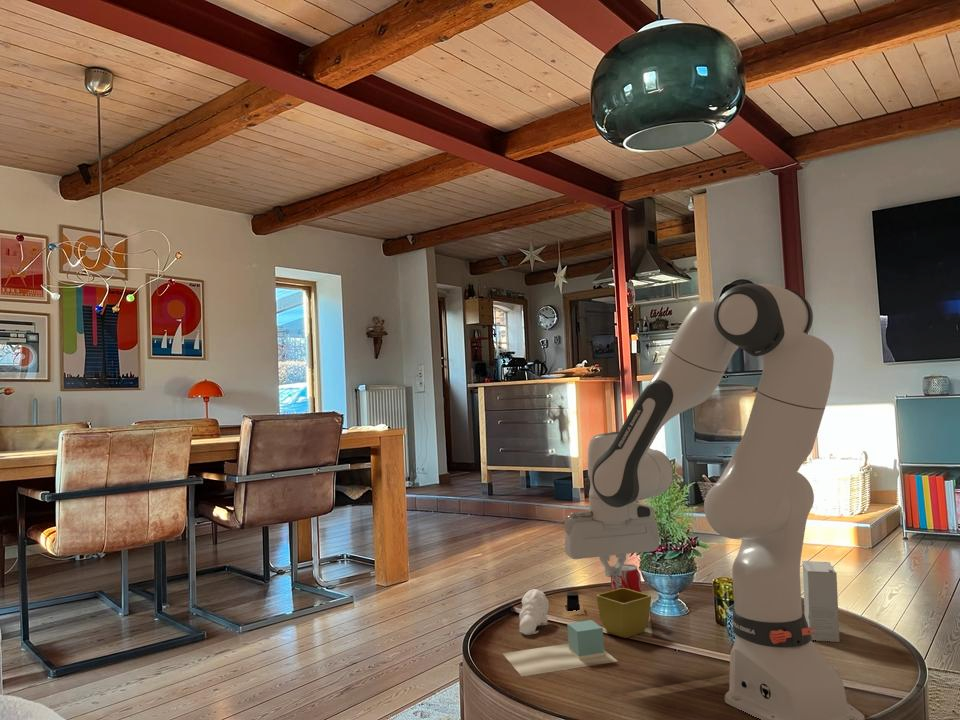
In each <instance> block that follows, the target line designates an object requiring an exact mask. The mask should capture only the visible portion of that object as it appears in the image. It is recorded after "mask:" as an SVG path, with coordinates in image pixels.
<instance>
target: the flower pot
mask: <svg viewBox="0 0 960 720" xmlns="http://www.w3.org/2000/svg"><path fill="white" fill-rule="evenodd" d="M596 601H597V602H596V603H597V607H598V612H599V617H600V621H601V624H602V625H603V628H604V629H605V630H606V632H607V633H610V634H612V635H615V636H618V637H621V638H624V639H625V638H626V639H627V638H630V637H634V636H636V635H639V634H643V633H644V632H645V630H646V628H647V626H648V623H649V619H650V614H651V613H650V612H651V603H652V595H649V594H647V593H643V592H642V593H641V592H637V591H633V590H630V589H626V588H620V589H616V590H612V591H611V590H609V591H605V592H602V593H598V594H596Z"/></svg>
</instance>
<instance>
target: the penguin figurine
mask: <svg viewBox="0 0 960 720" xmlns="http://www.w3.org/2000/svg"><path fill="white" fill-rule="evenodd" d="M521 605H522V607H521V611H519V615H518V616H519V621H520V622H519V629H518V631H519V632H520V634H523V635H525V636H530V635H534V634H535V635H536V634H538V633H539V631H540V630H539V629H538V630H536V629H537V627H538V626H546V625H548V616H547V614H548V612H549V605H550V602H549V600H548V598H547V596H546V594H545V593H544V592H543V591H542V590H539V589H537V588H533V589H530V590H528V591H527V592H526V593H525V594H524V596H523V597H522V598H521Z"/></svg>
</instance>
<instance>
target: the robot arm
mask: <svg viewBox="0 0 960 720" xmlns="http://www.w3.org/2000/svg"><path fill="white" fill-rule="evenodd" d="M811 306H812V305H810V303H809V301H808V300H807V299H806V298H805V297H804V296H803V295H802V294H801V293H799V292H797V291H795V290H793V289H790V288H785V287H780V286H778V285H775V284H769V283H768V284H767V283H757V284H756V283H752V282H751V283H749V282H748V283H744V284H742V283H741V284H738V285H736V286H733V287H732V288H729V289H728V290H726V291H725V292H724V293H723V294H721V296H720V297H719V298H718V300H717V301H709V300H707V301H703V302H701V301H700V302H699V303H697V304H695V305H694V306H693V307H692V308H691V309H690V310H689V312H688V314H687V315H686V316H685V318H684V319H683V321H682V322H681V324H680V325H679V328H678V329H677V331H676V333H675V334H674V336H673V338H672V341H671V343H670V345H669V348H668V349H667V352H666V354H665V356H664V357H663V360H662V362H661V364H660V365H659V367H658V368H657V371H655V372H656V373H655V374H654V375H653V377H652V379H651V380H650V381H649V382H648V384H647V385H646V386H645V388H644V389H643V391H642V392H641V393H640V394H639V396H638V397H637V400H636V401H635V403H634V404H633V407H632V408H631V410H630V412H629V413H628V416H626V419H625V421H624V423H623V424H622V426H621V428H620V430H619V431H612V432H606V433H600V434H596V435H594V436H592V437H591V439H590V440H589V444H588V448H587V449H588V451H587V476H588V480H589V486H590V488H589V491H588V492H589V493H588V506H589V507H588V508H589V509H588V511H582V512H571V513H570V514H569V515H568V516H566V518H565V519H564V531H565V537H564V552H565V555H566V556H567V557H569V558H570V559H573V560H581V559H590V558H598V559H599V561H600V562H601V564H602V565H603V567H604V574H605V577H607V578H611V577H614V576H621V574H622V573H621V568H622V566H623V564H625V562H626V560H627V554H628V555H629V554H630V555H631V554H637V553H638V554H639V553H648V552H655V551H657V550H658V548H659V547H660V532H659V527H658V522H657V521H656V519H655V518H653V517H655V511H656V510H655V507H653V506H651V505H649V504H646V503H643V502H639V501H642V500H647V499H650V498H654V497H658V496H660V495H662V494H664V493H666V492H667V491H669V490H670V488H671V486H672V484H673V481H674V469H673V466H672V463H671V461H670V459H669V458H668V456H667V455H666V454H665V453H664V452H662V451H661V450H658V449H652V448H651V446H652V444H653V442H654V441H655V439H656V437H657V435H658V433H659V432H660V430H661V429H662V428H663V427H664V425H666V423H667V422H669V421H670V420H671V419H673V418H675V417H676V416H677V415H679V414H681V413H683V412H685V411H688V410H689V409H691V408H694V407H697V406H698V405H700V404H702V403H704V402H706V401H707V400H708V399H709V398H710V396H712V394H713V392H715V390H716V389H717V387H718V386H719V384H720V383H721V381H722V379H723V377H724V374H725V372H726V370H727V368H728V366H729V364H730V361H731V359H732V357H733V355H734V354H735V352H736V351H737V350H738V349H739V348H740V349H741V350H743V351H745V352H746V353H747V354H749V355H751V357H760V358H761V360H762V364H763V365H762V371H761V376H760V379H759V383H758V387H757V390H756V393H755V397H754V401H753V404H752V407H751V411H750V414H749V417H748V421H747V424H746V428H745V430H744V432H743V434H742V437H741V438H740V441H739V443H738V445H737V447H736V449H735V451H734V453H733V455H732V456H731V458H730V460H729V462H728V463H727V466H726V467H725V469H724V471H723V473H722V474H721V476H720V477H719V479H718V480H717V481H716V483H715V484H713V486H712V487H711V488H710V489H709V490H708V491H707V493H706V495H705V498H704V503H703V510H704V514H705V518H706V521H707V522H708V524H709V526H710V527H711V528H712V530H714V531H715V533H717V534H719V535H720V536H722V537H724V538H727V539H731V540H732V539H733V540H741V542H740V546H739V550H738V553H737V555H736V556H735V559H734V561H733V563H732V573H731V574H732V586H733V587H732V589H733V601H734V602H733V603H734V604H733V605H734V609H732V617H731V620H732V621H731V623H732V629H733V632H734V634H735V638H734V642H733V645H732V648H731V650H730V655H729V686H728V688H729V689H728V691H727V692H726V693H725V694H724V703H726V704H727V705H729V706H732V707H733V708H735V709H738V710H740V711H741V710H742V711H741V712H743V711H744V712H743V713H745V712H746V713H745V714H747V713H748V714H747V715H749V714H750V715H749V716H751V715H752V717H753V716H754V718H755V717H757V718H759V719H761V720H864V719H865V720H866V718H865V715H864V714H863V713H862V712H861V711H859V710H858V709H857V708H856V707H854V706H853V705H851V704H850V703H849V702H848V701H847V695H846V689H845V685H844V682H843V679H842V678H841V675H840V672H839V670H838V668H837V667H836V666H832V665H830V663H829V662H828V660H827V659H826V658H825V656H823V654H822V653H821V652H820V650H819V649H818V648H817V647H816V646H815V644H814V643H813V640H811V639H812V636H811V634H815V633H814V632H810V631H811V630H813V629H814V627H808V623H807V621H806V618H805V613H803V604H802V589H801V588H802V586H801V562H802V561H801V560H802V552H803V546H804V539H805V531H806V527H807V520H808V518H809V517H808V516H809V515H810V512H811V510H812V508H813V505H814V502H815V493H814V490H813V487H812V485H811V483H810V481H809V480H808V479H807V477H806V476H804V475H803V474H802V473H800V472H798V471H799V470H800V468H801V466H802V465H803V464H804V462H805V461H806V459H808V457H809V456H810V455H811V453H812V451H813V450H814V447H815V442H816V439H817V437H818V433H819V429H820V426H821V423H822V419H823V417H824V413H825V410H826V407H827V402H828V399H829V395H830V392H831V384H832V379H833V372H834V365H835V364H834V361H835V359H834V358H835V356H834V352H833V350H832V349H833V348H832V347H831V346H830V345H829V344H828V343H827V342H825V341H824V340H822V339H821V338H819V337H817V336H814V335H812V334H811V335H810V334H809V331H810V330H811V328H812V326H813V320H814V315H813V314H814V312H813V309H812V307H811ZM610 556H615V558H617V559H616V562H615V565H612V566H611V565H610V564H609V561H610V559H611V557H610ZM757 718H756V719H757ZM759 719H758V720H759Z"/></svg>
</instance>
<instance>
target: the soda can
mask: <svg viewBox="0 0 960 720" xmlns="http://www.w3.org/2000/svg"><path fill="white" fill-rule="evenodd" d="M621 573H622V574H621V576H614V577H610V588H611V589H610V591H612V590H616V589H620V588H626V589H630V590H633V591H637V592H641V593H643V592H642V591H643V589H642V579H641V573H640V572H639V570H638V566H637V565H635V564H629V563H626V564H625V563H624V564H623V566H622V568H621Z"/></svg>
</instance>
